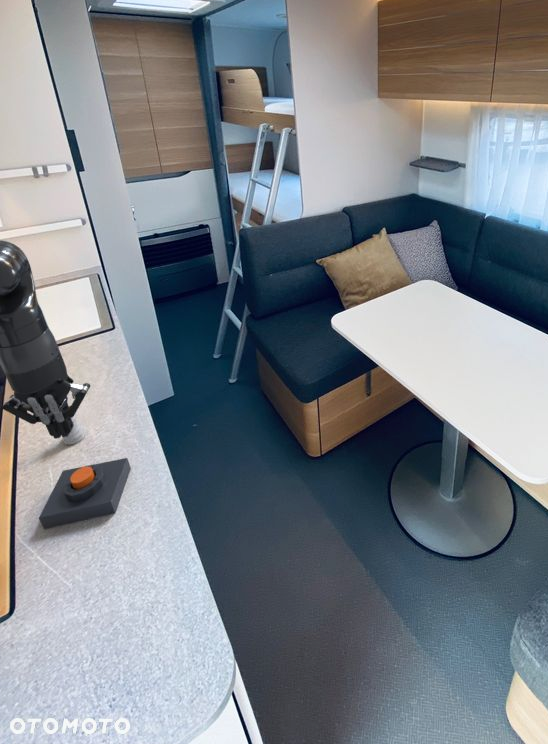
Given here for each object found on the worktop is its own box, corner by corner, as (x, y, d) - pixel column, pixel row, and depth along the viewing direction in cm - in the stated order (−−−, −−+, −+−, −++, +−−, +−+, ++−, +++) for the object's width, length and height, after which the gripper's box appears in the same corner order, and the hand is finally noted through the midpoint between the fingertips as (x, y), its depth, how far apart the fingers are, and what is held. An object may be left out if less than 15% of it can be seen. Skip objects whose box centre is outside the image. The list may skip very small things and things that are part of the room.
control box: (44, 529, 76) (34, 511, 74) (67, 481, 85) (60, 464, 83) (115, 513, 78) (108, 495, 76) (131, 468, 87) (125, 451, 85)
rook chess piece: (69, 449, 92) (58, 422, 89) (60, 440, 94) (48, 414, 91) (90, 435, 96) (80, 408, 92) (81, 427, 98) (70, 401, 95)
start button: (69, 491, 78) (66, 485, 77) (77, 474, 81) (74, 468, 80) (90, 487, 78) (87, 480, 78) (97, 470, 82) (95, 464, 81)
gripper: (-31, 379, 63) (9, 459, 70) (66, 364, 66) (96, 442, 73) (-3, 350, 70) (32, 425, 77) (85, 337, 73) (111, 411, 80)
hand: (63, 433), depth 75 cm, fingers closed
